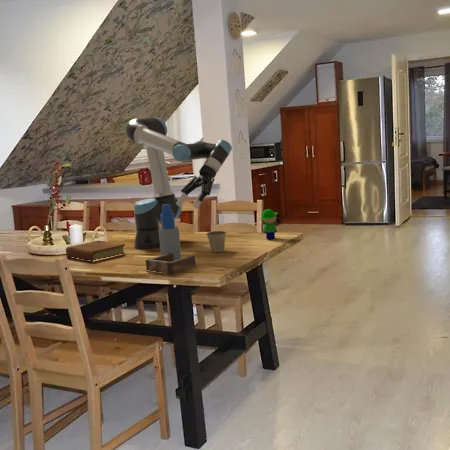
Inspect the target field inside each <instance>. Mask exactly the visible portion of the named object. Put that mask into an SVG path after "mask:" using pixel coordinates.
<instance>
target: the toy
mask: <svg viewBox="0 0 450 450" xmlns="http://www.w3.org/2000/svg"><path fill="white" fill-rule="evenodd" d="M261 214H262V216H261V217H260V220H263V222H264V225H263V231H262V233H263V234H265V237H266V238H267V239H266V240H268V241H274V240H273V239H275V240H276V233H277V232H278V230H277V227H276V224H275V223H277V224H280V223H281V222H280V221H281V220H280V214H279V213H278V212H274V210H272V209H270V208H267V209H264V210H263V212H262V213H261Z"/></svg>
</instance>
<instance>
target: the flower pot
mask: <svg viewBox="0 0 450 450" xmlns="http://www.w3.org/2000/svg"><path fill="white" fill-rule="evenodd" d="M206 236H207V238H208V242H209V247H210V252H212V253H217V252H219V253H222V252H224V251H225V244H226V236H227V231H224V230H217V231H215V230H213V231H210V232H207V233H206Z"/></svg>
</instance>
